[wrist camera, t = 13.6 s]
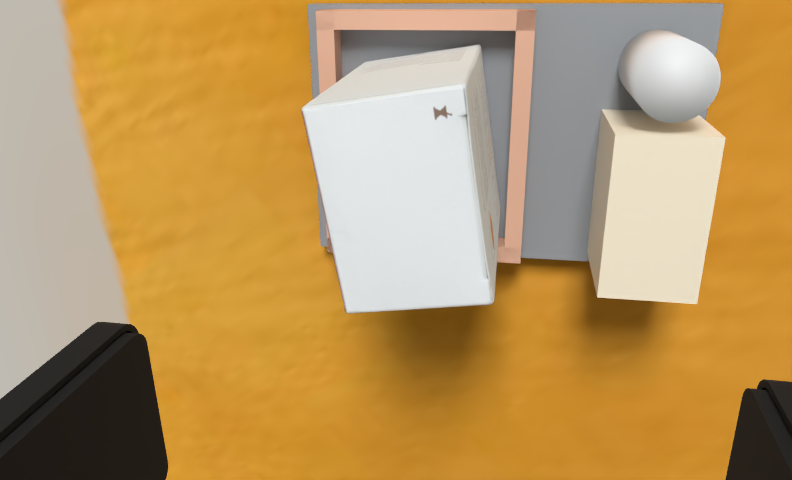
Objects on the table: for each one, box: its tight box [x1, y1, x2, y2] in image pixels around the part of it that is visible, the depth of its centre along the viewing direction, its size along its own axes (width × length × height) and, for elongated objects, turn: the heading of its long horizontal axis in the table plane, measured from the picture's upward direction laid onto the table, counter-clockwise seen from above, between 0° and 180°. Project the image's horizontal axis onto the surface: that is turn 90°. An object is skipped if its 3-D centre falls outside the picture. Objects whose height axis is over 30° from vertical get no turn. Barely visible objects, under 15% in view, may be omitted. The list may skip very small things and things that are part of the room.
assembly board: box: [308, 3, 725, 304], centre depth 30 cm, size 18×12×6 cm, turn 91°
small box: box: [301, 45, 501, 313], centre depth 28 cm, size 8×6×10 cm
